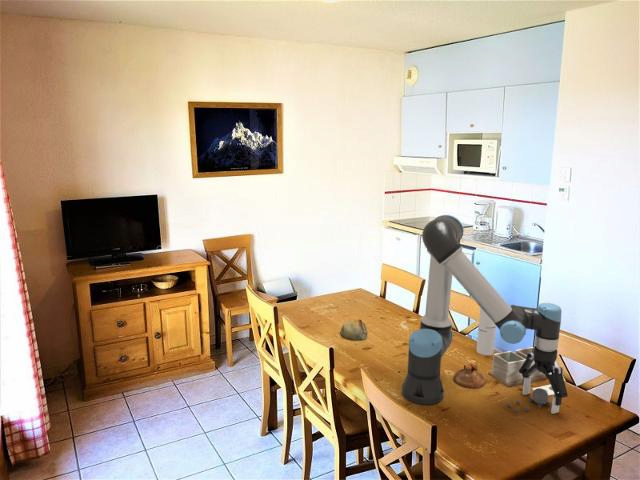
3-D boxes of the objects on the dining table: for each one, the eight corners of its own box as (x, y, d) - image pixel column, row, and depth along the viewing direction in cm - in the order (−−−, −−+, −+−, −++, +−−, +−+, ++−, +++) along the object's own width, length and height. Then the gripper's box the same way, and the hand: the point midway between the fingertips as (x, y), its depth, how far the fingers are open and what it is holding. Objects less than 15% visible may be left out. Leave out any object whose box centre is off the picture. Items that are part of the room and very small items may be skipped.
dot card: (543, 396, 185) (544, 396, 185) (531, 389, 190) (531, 388, 190) (564, 391, 188) (564, 391, 188) (552, 384, 194) (552, 383, 194)
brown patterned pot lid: (471, 372, 203) (472, 355, 202) (491, 386, 193) (492, 368, 191) (447, 377, 199) (448, 360, 198) (465, 391, 188) (467, 373, 187)
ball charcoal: (539, 408, 177) (540, 394, 176) (527, 400, 182) (529, 386, 181) (551, 405, 179) (553, 391, 178) (539, 398, 184) (541, 384, 183)
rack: (507, 386, 192) (509, 365, 190) (488, 374, 202) (490, 353, 200) (550, 377, 199) (552, 356, 197) (529, 365, 209) (531, 345, 207)
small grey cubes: (516, 413, 173) (517, 411, 173) (506, 406, 178) (506, 403, 178) (550, 405, 179) (551, 403, 179) (539, 398, 184) (539, 395, 183)
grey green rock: (373, 339, 235) (373, 322, 233) (349, 343, 230) (350, 327, 228) (358, 328, 248) (359, 313, 246) (336, 332, 243) (336, 316, 241)
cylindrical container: (494, 356, 218) (499, 301, 213) (477, 354, 219) (481, 299, 214) (492, 349, 225) (497, 295, 219) (475, 347, 226) (480, 294, 221)
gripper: (583, 360, 166) (576, 418, 170) (528, 332, 188) (522, 385, 193) (566, 364, 163) (559, 423, 167) (512, 335, 186) (507, 388, 190)
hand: (540, 403), depth 180 cm, fingers open, 13 cm apart
